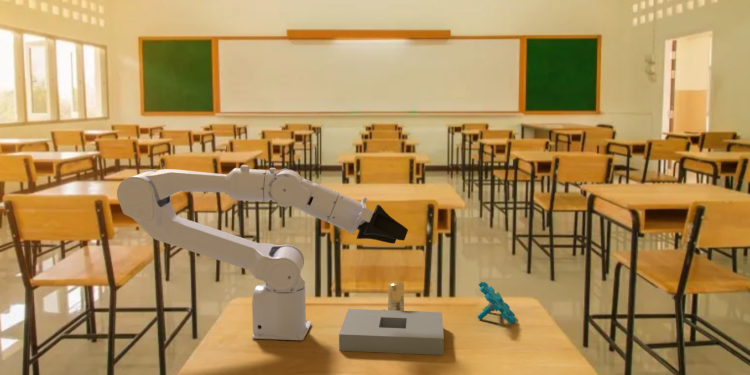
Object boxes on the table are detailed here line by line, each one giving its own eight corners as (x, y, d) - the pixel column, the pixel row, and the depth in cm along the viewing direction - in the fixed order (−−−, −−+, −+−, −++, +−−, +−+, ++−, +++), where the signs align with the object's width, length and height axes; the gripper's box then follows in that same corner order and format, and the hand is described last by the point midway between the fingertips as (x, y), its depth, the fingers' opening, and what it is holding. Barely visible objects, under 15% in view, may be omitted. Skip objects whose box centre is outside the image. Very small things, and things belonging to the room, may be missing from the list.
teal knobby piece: (518, 325, 109) (481, 283, 111) (494, 344, 110) (458, 303, 112) (520, 311, 120) (486, 274, 122) (498, 329, 121) (465, 292, 123)
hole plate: (339, 350, 102) (339, 334, 102) (348, 323, 114) (348, 308, 113) (443, 355, 100) (443, 338, 100) (441, 327, 112) (442, 312, 112)
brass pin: (387, 320, 116) (387, 286, 114) (388, 314, 119) (388, 280, 118) (403, 320, 115) (403, 286, 114) (404, 314, 118) (404, 281, 117)
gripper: (346, 180, 100) (418, 212, 102) (336, 193, 114) (399, 221, 116) (330, 218, 99) (404, 249, 100) (322, 226, 113) (386, 254, 114)
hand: (400, 237), depth 108 cm, fingers open, 7 cm apart
